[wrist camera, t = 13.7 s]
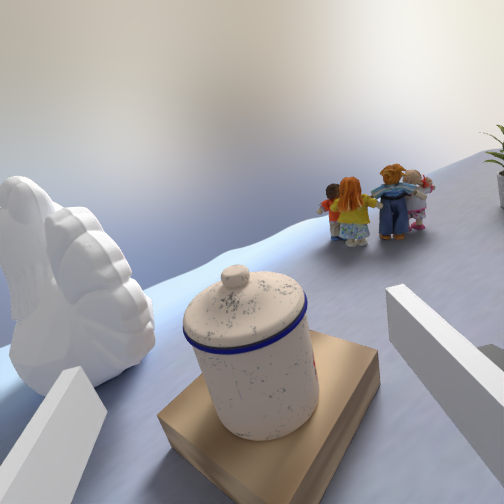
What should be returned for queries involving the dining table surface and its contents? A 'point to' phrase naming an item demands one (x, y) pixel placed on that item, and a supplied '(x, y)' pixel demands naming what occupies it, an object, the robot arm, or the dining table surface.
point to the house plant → (502, 175)
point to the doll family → (391, 206)
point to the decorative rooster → (68, 291)
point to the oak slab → (284, 448)
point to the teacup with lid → (255, 352)
